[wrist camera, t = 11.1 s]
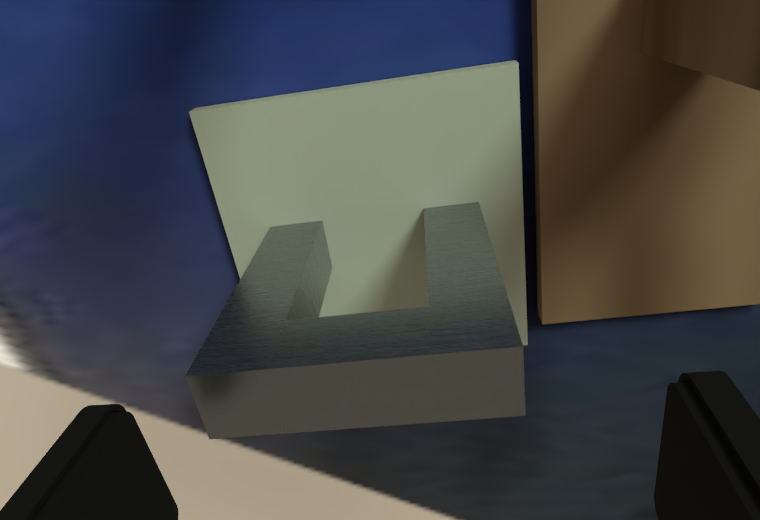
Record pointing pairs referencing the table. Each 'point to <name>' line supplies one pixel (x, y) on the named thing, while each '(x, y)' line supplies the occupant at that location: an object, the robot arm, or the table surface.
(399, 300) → the mat
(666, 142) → the stand
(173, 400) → the table surface
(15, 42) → the table surface
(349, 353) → the grey u-shaped block
